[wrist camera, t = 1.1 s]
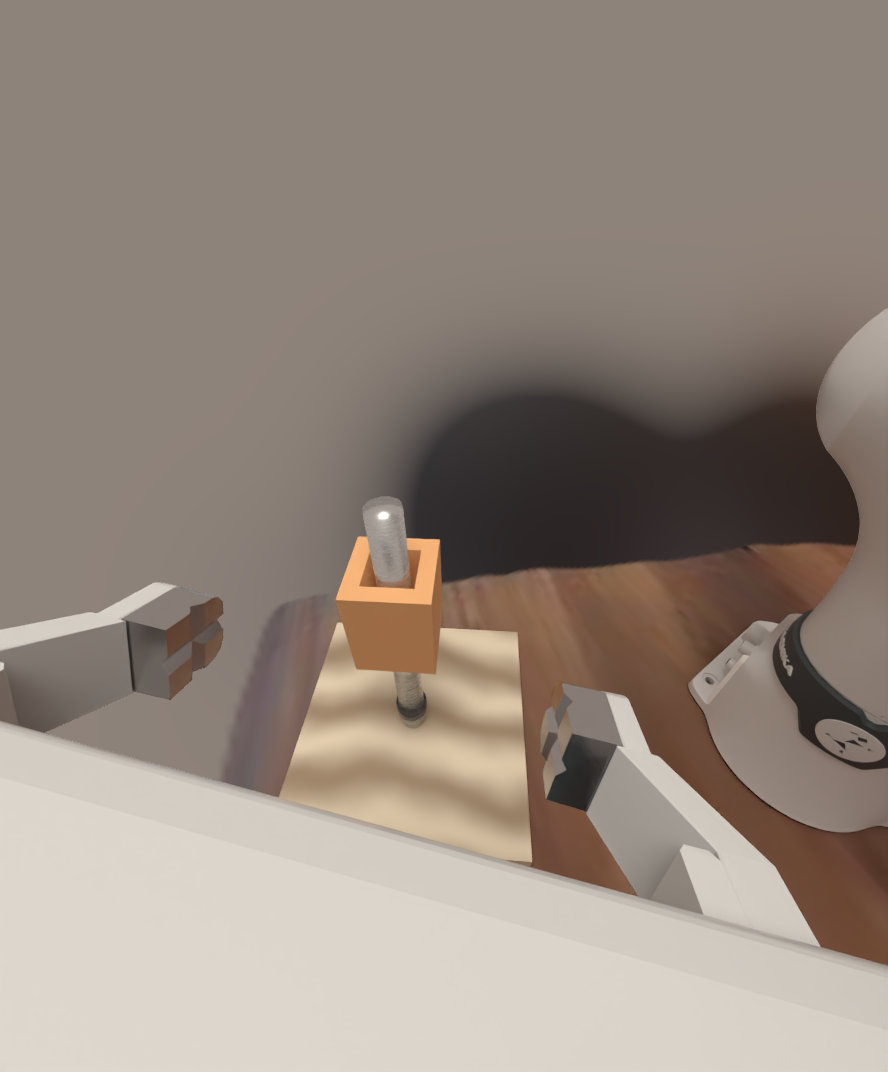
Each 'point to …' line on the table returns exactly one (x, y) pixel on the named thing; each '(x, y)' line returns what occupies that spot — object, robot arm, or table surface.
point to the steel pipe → (394, 573)
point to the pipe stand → (423, 747)
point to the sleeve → (393, 611)
